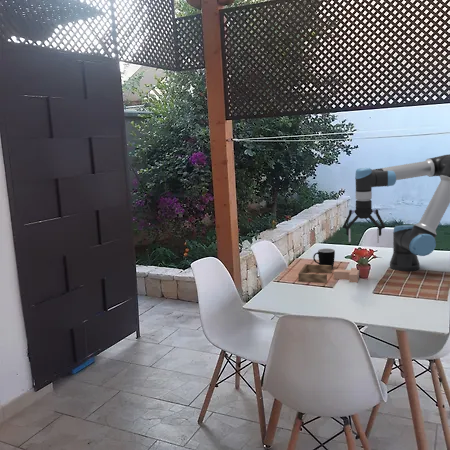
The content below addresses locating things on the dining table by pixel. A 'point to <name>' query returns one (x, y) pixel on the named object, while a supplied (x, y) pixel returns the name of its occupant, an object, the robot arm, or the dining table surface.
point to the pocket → (314, 277)
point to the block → (347, 274)
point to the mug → (325, 256)
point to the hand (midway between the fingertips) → (363, 242)
